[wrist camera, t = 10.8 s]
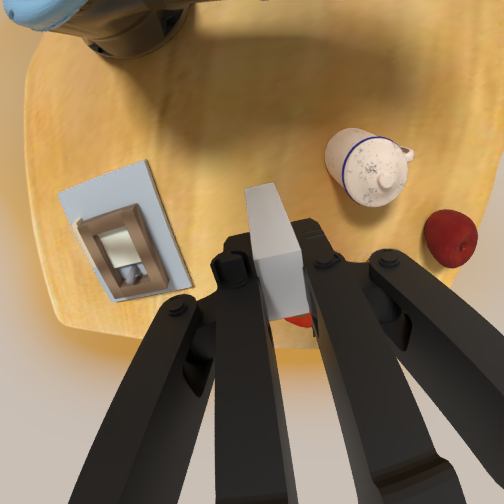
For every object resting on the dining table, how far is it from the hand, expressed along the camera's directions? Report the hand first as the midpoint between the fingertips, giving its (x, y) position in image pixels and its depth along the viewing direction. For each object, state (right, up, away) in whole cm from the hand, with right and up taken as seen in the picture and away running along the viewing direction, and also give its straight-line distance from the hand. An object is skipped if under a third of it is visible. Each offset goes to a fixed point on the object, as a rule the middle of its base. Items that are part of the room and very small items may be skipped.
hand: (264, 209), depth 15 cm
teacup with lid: (+15, +12, +25) cm, 32 cm away
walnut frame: (-20, -2, +29) cm, 36 cm away
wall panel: (-21, 0, +29) cm, 36 cm away
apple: (+33, +3, +32) cm, 46 cm away
